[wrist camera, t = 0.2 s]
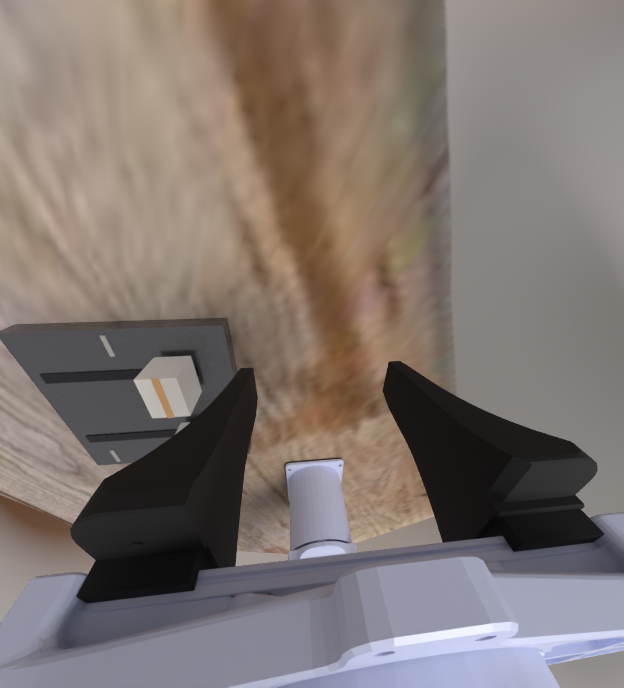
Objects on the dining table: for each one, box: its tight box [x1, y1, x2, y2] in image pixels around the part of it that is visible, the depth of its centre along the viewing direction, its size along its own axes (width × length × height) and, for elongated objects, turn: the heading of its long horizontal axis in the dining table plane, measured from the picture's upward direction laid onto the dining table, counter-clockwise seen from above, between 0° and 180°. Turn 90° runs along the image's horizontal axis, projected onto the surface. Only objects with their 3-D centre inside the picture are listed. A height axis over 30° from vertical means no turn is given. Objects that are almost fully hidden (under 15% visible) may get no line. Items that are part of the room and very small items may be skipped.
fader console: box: [0, 318, 252, 465], centre depth 23 cm, size 17×17×2 cm
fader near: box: [134, 356, 202, 418], centre depth 19 cm, size 4×3×3 cm
